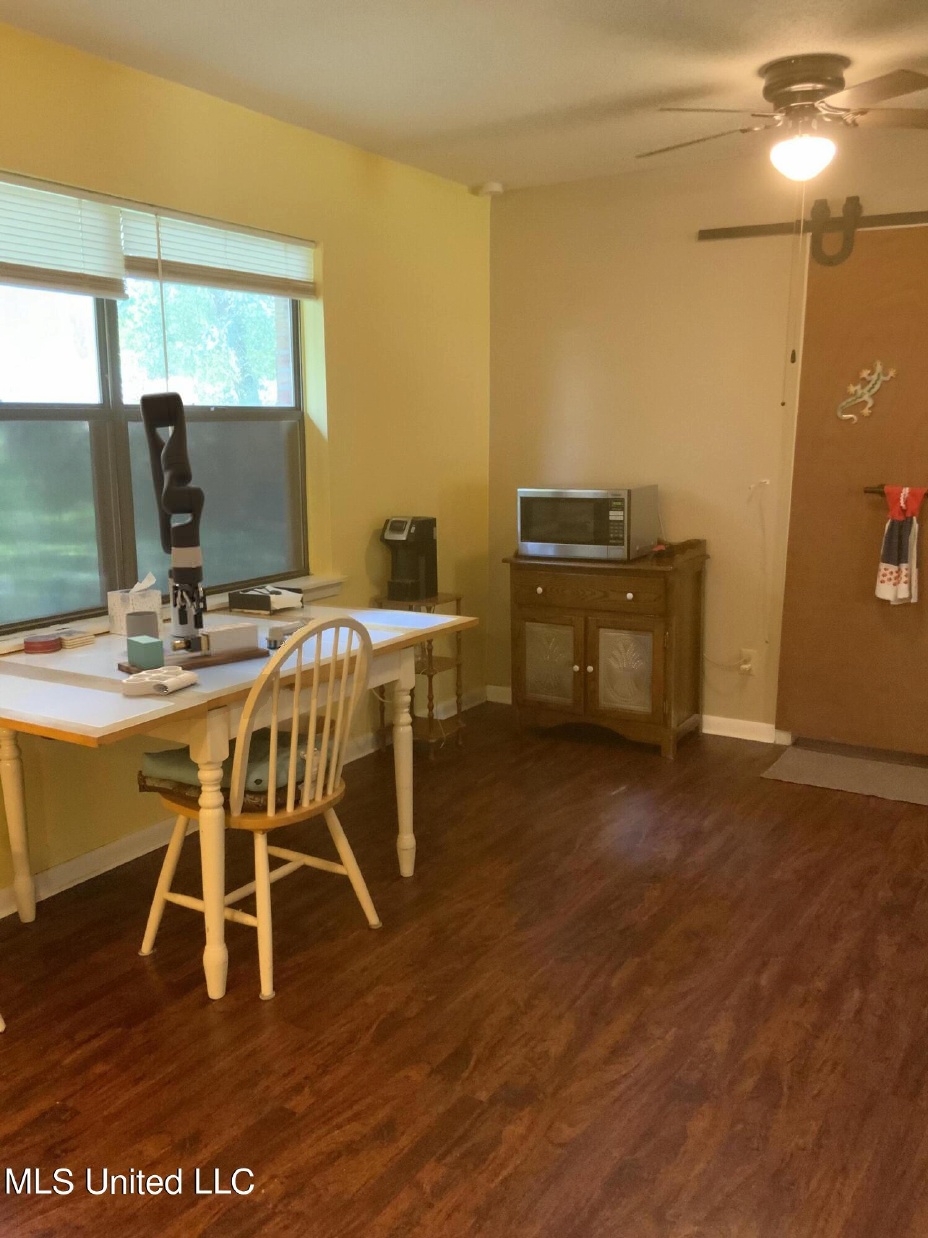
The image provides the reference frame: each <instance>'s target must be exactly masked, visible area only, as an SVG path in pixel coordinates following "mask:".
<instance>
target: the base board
mask: <svg viewBox="0 0 928 1238" xmlns="http://www.w3.org/2000/svg"><path fill="white" fill-rule="evenodd" d="M269 656H271V653H270V649H268V648H263V647H260V646H259V649H253V650H247V651H241V652H235V653H229V654H223V655H217V656H208V655H205V654H202V653H200V651H199V652H193V653H191V652H187V651H185V652H178V653H173V654H166V655H164V666H162V667H167V666H178V667H181V668H182V670H183V671H191V670H194V669H193V668H195V669H201V668H206V667H207V668H208V667H212V666H217V665H223V664H224V665H225V664H229V663H234V662H240V661H245V660H253V659H257V658H258V659H259V658H264V657H269ZM200 667H201V668H200ZM159 668H161V667H156V668H150V669H143V668H140V667H138V666H135V665H132V664H129V663H128V661H123V662H117V670H120V671H122V670H123V671H122V672H125V673H128V674H130V673H131V674H130V675H133V674H138V673H141V672H143V671H147V670H154V669H159Z"/></svg>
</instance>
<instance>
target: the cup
mask: <svg viewBox="0 0 928 1238" xmlns="http://www.w3.org/2000/svg"><path fill="white" fill-rule="evenodd" d="M158 619H159V618H158V612H156V611H152V610H144V611H143V610H142V611H140V610H139V611H132V612H128V613H126V614H125V628H126V629H125V630H126V639H127V638H131V637H137V636H144V635H146V636H149V637H152V638H156V639H159V640H160V636H159V634H160V633H159V623H158V621H159V620H158Z"/></svg>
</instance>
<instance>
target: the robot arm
mask: <svg viewBox="0 0 928 1238" xmlns="http://www.w3.org/2000/svg"><path fill="white" fill-rule="evenodd" d="M139 408H140V414H141V420H142V424H143V428H144V433H145V438H146V443H147V446H148V447H147V448H148V453H149V460H150V461H149V462H150V470H151V471H150V472H151V478H152V484H153V486H152V487H153V489H154V496H155V502H156V507H157V513H158V525H159V526H158V527H159V536H160V544H161V548H162V551H163V552H164V554H166V555H171V557H170V558H171V567H170V568H168V572H167V574H168V587H169V588H168V589H169V604H170V605H169V607H170V608H169V609H170V622H171V633H172V636H174V637H183V638H184V636H189V635H199V629H203V628H205V623H204V613H206V612H208V605H207V593H206V588H202V582H203V581H204V572H203V570H204V569H203V557H202V556H203V555H202V554H203V553H202V551H201V539H200V538H201V537H200V526H201V519H202V514H203V511H204V506H205V493H204V491H203V489H202V488H201V487H200V486H198V485H189V484H191V482H192V479H193V473H192V468H191V463H190V459H189V458H190V457H189V453H188V441H187V440H188V437H187V426H186V425H187V424H186V416H185V415H186V413H185V409H184V403H183V400H182V397H181V395H180V393H179V392H177V391H172V390H171V391H161V392H159V391H158V392H152V393H150V392H149V393H145V394H144V393H143V394H142V395H141V397H140V400H139ZM170 427H173V430H172V432H171V434H170V436H169V438H168V440H167V442H165V441H164V440H163V438H162V437H161V435H160V433H159V431H158V429H160V428H161V429H163V428H170ZM182 514H183V515H185V514H189V517H188V519H187V520H186V521H182V522H171V520H172V518H173V515H182Z"/></svg>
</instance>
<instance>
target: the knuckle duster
mask: <svg viewBox="0 0 928 1238" xmlns="http://www.w3.org/2000/svg"><path fill="white" fill-rule="evenodd" d="M199 681H200V676H199V674H197V673H195V672H193V671H191V670H184V671H183V670H182V668H181V667H178V666H167V667H161V668H159V669H154V670H147V671H143V672H141V673H138V674H130V676H129V677H128V678H125V679H123V680H122V681H121V687H122V694H123V695H124V696H141V695H147V694H158V695H168V694H170V693H172V692H175V691H177V690H181V689H183V688H186V687H190V686H191V684H192V685H195V684H197V683H199ZM167 689H168V690H167ZM164 691H167V692H164Z"/></svg>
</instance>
